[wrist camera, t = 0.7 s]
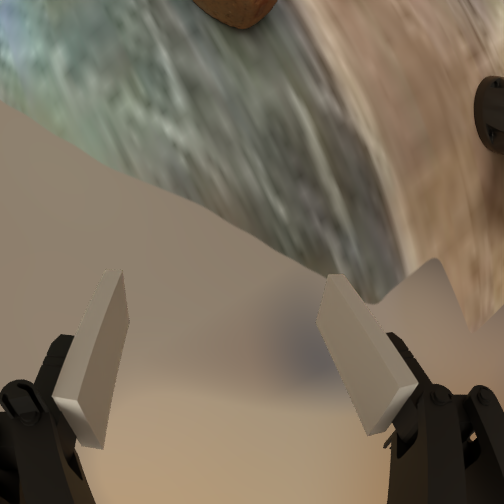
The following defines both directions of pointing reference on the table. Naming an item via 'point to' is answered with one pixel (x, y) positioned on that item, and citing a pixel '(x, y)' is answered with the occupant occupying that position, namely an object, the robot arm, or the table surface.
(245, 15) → the block
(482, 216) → the table surface
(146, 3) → the table surface
